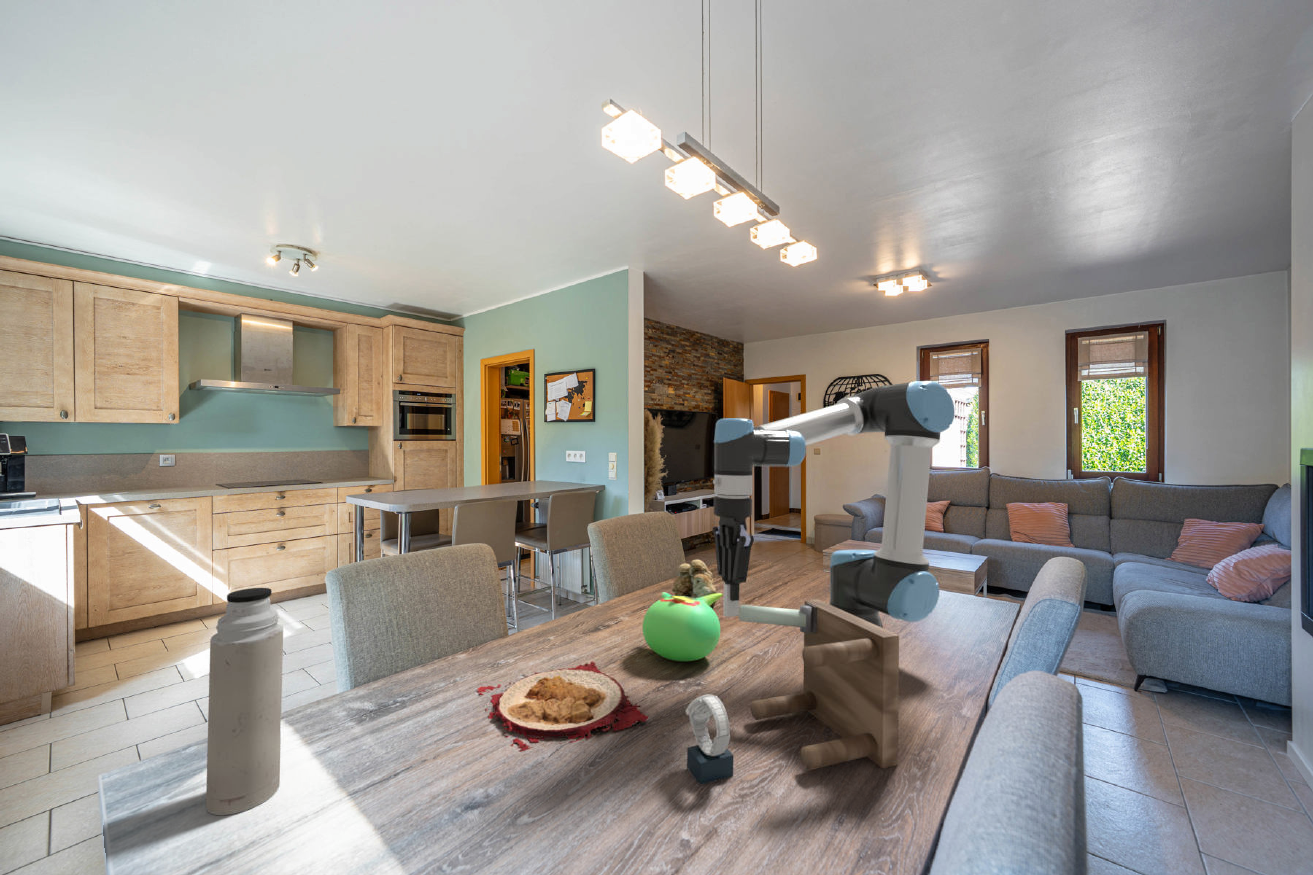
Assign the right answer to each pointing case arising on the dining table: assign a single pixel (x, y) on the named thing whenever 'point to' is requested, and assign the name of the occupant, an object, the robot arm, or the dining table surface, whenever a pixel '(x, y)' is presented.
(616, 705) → the plate with food
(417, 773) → the dining table surface
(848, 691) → the stool
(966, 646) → the dining table surface
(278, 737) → the thermos bottle
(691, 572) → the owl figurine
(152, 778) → the dining table surface
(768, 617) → the hinged leg
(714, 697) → the watch
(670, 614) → the toy bird
